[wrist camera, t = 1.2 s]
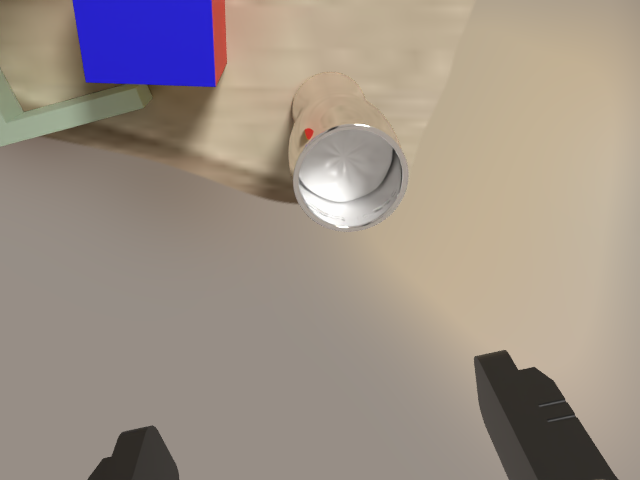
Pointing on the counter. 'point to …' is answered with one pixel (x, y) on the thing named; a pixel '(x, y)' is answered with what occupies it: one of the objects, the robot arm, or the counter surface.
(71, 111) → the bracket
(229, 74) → the counter surface
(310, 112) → the beer glass
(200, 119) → the counter surface
